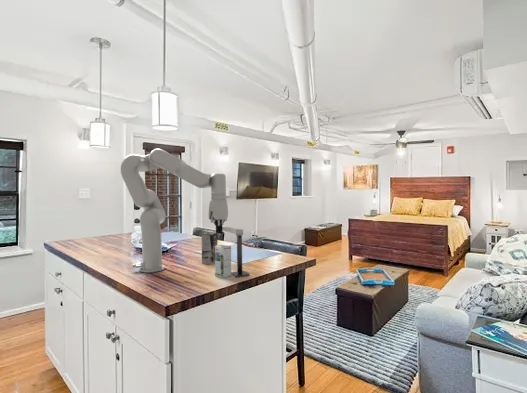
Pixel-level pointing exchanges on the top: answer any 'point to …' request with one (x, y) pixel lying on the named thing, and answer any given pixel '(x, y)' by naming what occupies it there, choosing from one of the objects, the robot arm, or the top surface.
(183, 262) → the top surface
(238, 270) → the stand
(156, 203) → the robot arm
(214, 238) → the coffee box
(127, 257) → the top surface
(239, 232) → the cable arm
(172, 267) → the top surface
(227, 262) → the syrup box
